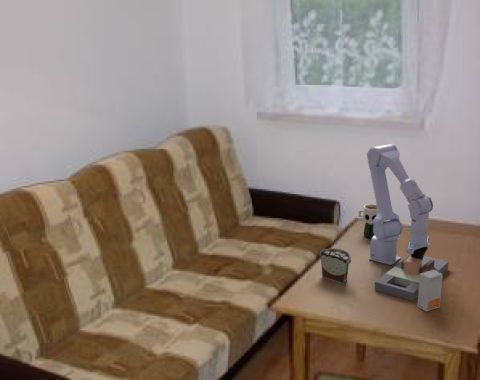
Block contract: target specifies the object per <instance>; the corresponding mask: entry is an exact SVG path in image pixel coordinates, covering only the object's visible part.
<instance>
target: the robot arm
mask: <svg viewBox="0 0 480 380" xmlns="http://www.w3.org/2000/svg"><path fill="white" fill-rule="evenodd" d="M366 157H367V163H368V169H369V172H370V178H371V183H372V187H373V193H374V198H375V204H376V205H377V210H378V215H377V216H376V217H375V219H374V220H373V223H374V227H373V232H374V236H373V237H372V238H371V239H370V243H369V244H370V245H369V247H370V248H369V249H370V250H369V257H368V260H370V261H374V262H377V263H380V264H385V265H388V266H389V265H390V266H392V265H394V264H395V263H397V262H398V261H399V260H400V259H401V258H402V257H401V256H398V255H397V252H398V251H397V250H398V249H397V248H398V239H399V238H400V235H402V233H403V224H402V222H401V220H400V216H399V215H398V214H397V213H395V212H394V211H393V205H392V201H391V196H390V195H391V194H390V191H389V184H388V179H387V173H386V170H387V168H388V169H390V171H391V172H392V174H393V175H394V177H396V178H395V179H397V181H399V183H400V186H399V189H400V190H401V192H402V195H404V198H405V199H406V200H407V202H408V206H407V207H408V210H409V214H410V215H409V216H410V219H411V221H410V240H409V242H408V247H407V248H406V254H409V255H410V254H411V256H412V257H413V258H417V259H422V260H423V257H424V256H425V254H426V252H427V251H428V249H429V247H430V246H431V243H429V242H430V236H429V235H428V232H429V231H428V230H429V217H430V212H432V211H433V208H434V203H433V200H432V198H431V197H430V196H429V195H426V193H423V192H422V189H420V187H419V184H418V183H417V182H416V181H415V179H413V178H410V177H409V175H408V173H407V172H406V169H405V167H404V166H403V164H402V161H401V160H400V151H399V150H398V148H397V146H396V145H395V144H394V143H389V144H384V145H379V146H371V147H369V149H368V151H367V153H366Z"/></svg>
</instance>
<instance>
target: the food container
mask: <svg viewBox="0 0 480 380" xmlns="http://www.w3.org/2000/svg"><path fill="white" fill-rule="evenodd" d="M318 256H320V264H321V277H322V278H325V279H327V280H330V281H334V282H336V283H338V284H343V285H345V284H347V282H348V276H349V275H348V274H349V265H350V264H351V263H352V259H351V254H350V253H349V252H348V251H346V250H344V249H341V248H325V249H321V250H320V252H319V255H318Z"/></svg>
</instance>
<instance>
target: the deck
mask: <svg viewBox="0 0 480 380" xmlns="http://www.w3.org/2000/svg"><path fill="white" fill-rule="evenodd" d="M410 255H411V254H409V255H408V256H410ZM408 256H407V257H408ZM407 257H405V258H404V259H403V260H405V259H406V258H407ZM403 260H401V261H400V262H398V263H397V264H396V265H394V266H393V267H392V268H391V269H389V270H388V271H387V272H386V273H384V274H383V275H381V276H380V277H379V278H378V279H376V280H374V290H375V291H376V292H377V291H378V292H381V293H385V294H389V295H390V296H391V295H392V296H395V297H398V298H402V299H404V300H408V301H411V302H413V301H415V300H416V299H418V294H419V280H420V274H421V272H420V273H419V274H418V275H416V276H415V275H411V274H407V273H404V269H401V262H402V261H403ZM429 260H435V262H434V267H433V268H432V269H431V270H435V271H437V272H439V273H441V274H443V275H444V274H445V273H446V272H447V271H448V270H449V261H446V260H442V259H437V258H434V257H431V256H430V257H429V256H426V255H424V257H423V260H422V266H423V265H424V264H426V263H427V262H428V261H429ZM431 270H430V271H431Z"/></svg>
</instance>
